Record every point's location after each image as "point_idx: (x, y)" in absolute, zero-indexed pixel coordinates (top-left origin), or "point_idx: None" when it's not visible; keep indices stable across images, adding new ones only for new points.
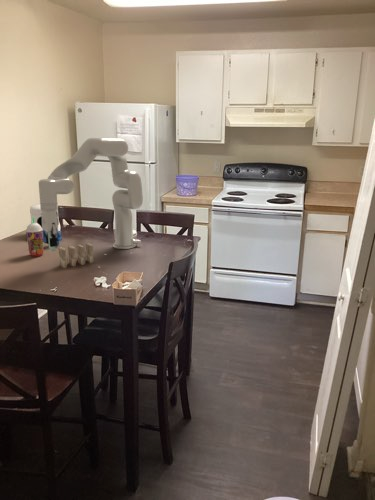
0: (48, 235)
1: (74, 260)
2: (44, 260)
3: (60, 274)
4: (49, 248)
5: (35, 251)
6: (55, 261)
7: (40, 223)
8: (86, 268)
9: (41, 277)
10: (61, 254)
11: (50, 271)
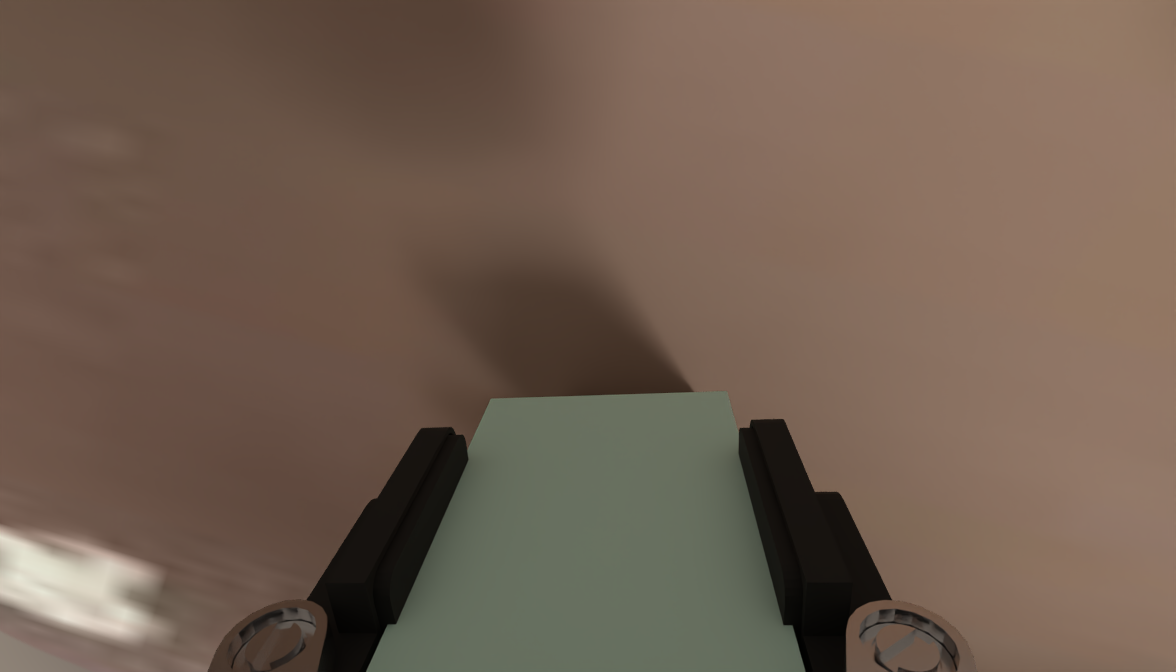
0: (710, 656)
1: None
2: (1036, 266)
3: (333, 306)
4: (673, 398)
5: None
6: (884, 385)
7: None
8: None
9: (293, 53)
10: None
11: (495, 224)
